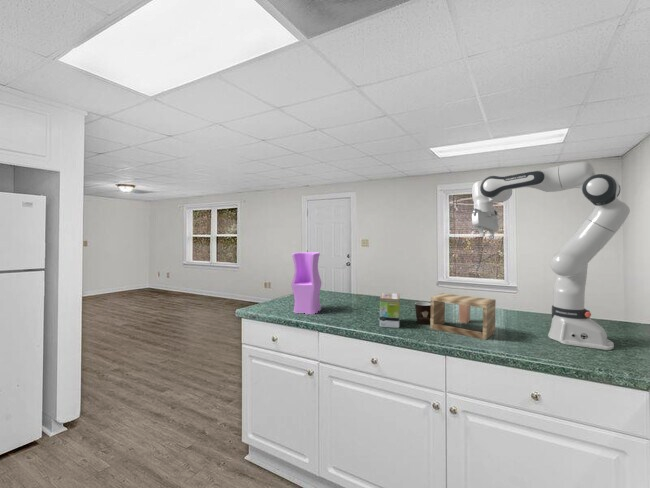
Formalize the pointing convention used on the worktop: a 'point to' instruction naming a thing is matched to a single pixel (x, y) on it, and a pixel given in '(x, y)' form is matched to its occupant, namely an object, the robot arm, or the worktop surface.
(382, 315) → the tea box
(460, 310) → the block
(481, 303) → the shelf
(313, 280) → the container
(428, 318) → the coffee mug
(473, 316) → the worktop surface
